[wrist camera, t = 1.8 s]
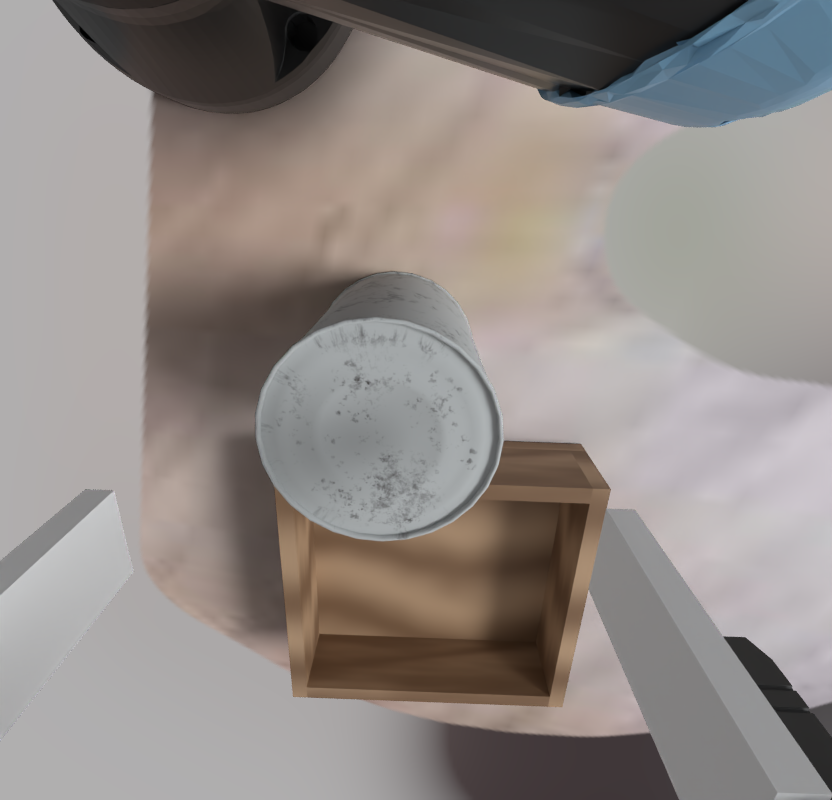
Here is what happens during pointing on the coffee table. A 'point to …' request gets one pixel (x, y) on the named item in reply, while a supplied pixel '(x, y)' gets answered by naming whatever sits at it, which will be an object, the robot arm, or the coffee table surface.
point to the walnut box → (451, 592)
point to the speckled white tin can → (382, 413)
